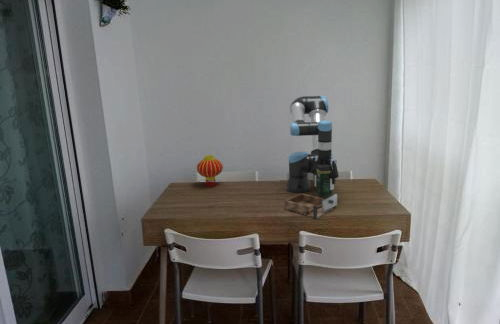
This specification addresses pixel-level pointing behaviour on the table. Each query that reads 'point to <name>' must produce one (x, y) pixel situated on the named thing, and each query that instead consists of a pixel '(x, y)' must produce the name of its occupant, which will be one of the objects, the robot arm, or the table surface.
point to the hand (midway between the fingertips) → (324, 187)
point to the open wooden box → (306, 205)
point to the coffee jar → (323, 180)
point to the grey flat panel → (329, 202)
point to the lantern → (209, 168)
